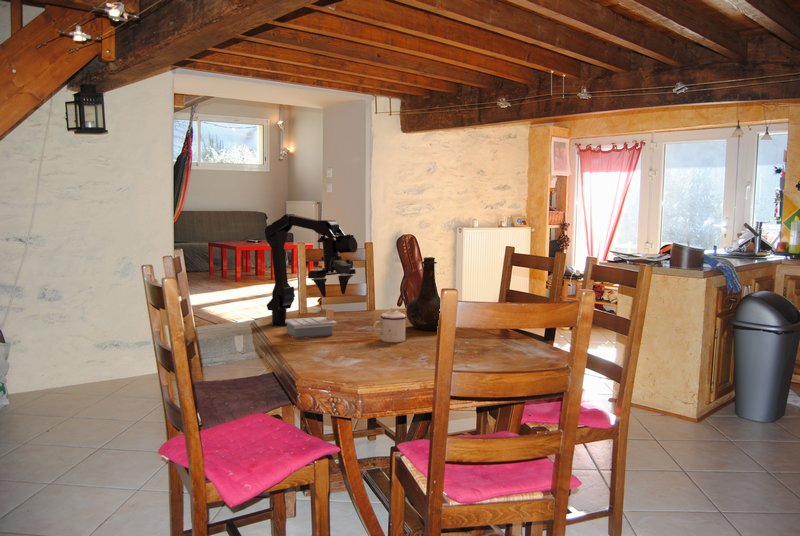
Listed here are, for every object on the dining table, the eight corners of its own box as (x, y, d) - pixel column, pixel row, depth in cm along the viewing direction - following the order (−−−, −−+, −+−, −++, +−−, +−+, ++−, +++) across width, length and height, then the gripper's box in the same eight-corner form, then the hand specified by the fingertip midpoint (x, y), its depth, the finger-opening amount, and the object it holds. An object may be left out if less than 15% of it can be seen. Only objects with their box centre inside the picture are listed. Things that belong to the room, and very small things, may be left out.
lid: (285, 322, 236) (285, 309, 235) (326, 319, 243) (326, 306, 243) (294, 328, 226) (294, 314, 225) (337, 325, 233) (337, 311, 232)
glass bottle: (452, 333, 241) (454, 259, 238) (405, 332, 242) (407, 258, 239) (450, 324, 259) (451, 255, 256) (406, 323, 259) (407, 255, 257)
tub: (286, 333, 236) (286, 322, 235) (322, 330, 242) (322, 320, 242) (295, 338, 227) (295, 327, 227) (332, 335, 233) (332, 324, 233)
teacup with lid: (399, 336, 234) (400, 305, 232) (409, 341, 225) (410, 309, 224) (369, 338, 229) (369, 306, 228) (377, 344, 221) (378, 311, 220)
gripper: (325, 255, 225) (328, 299, 226) (363, 251, 238) (366, 293, 239) (305, 255, 233) (309, 298, 234) (344, 252, 246) (347, 292, 247)
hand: (334, 295), depth 238 cm, fingers open, 9 cm apart
